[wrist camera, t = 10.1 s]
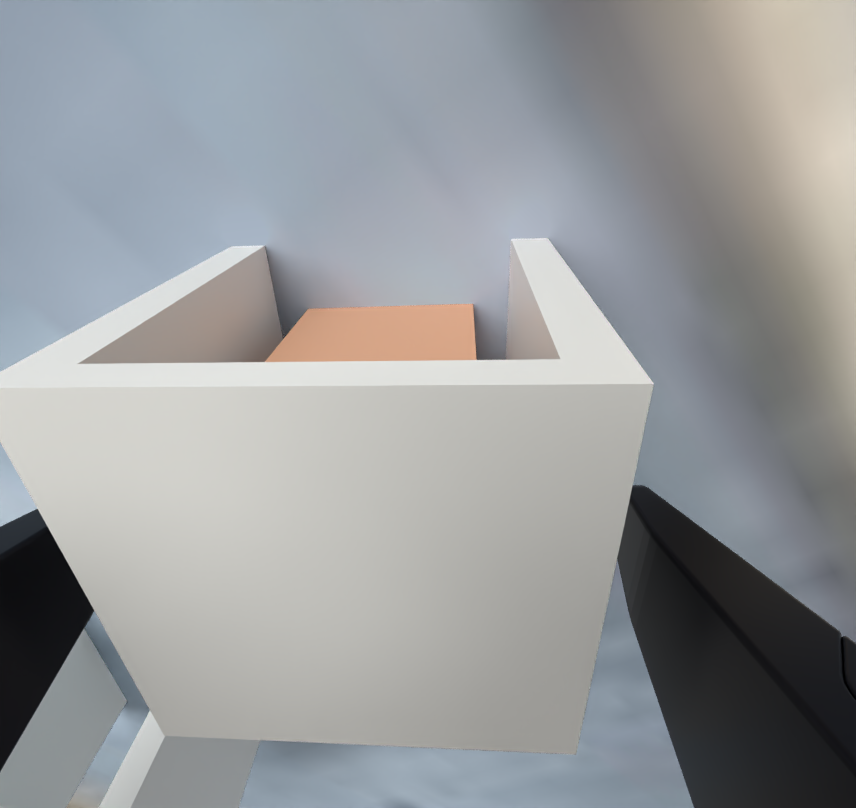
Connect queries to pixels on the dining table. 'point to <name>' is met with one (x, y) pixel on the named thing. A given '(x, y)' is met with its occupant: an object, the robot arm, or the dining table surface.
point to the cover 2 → (339, 512)
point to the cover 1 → (144, 763)
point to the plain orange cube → (381, 334)
